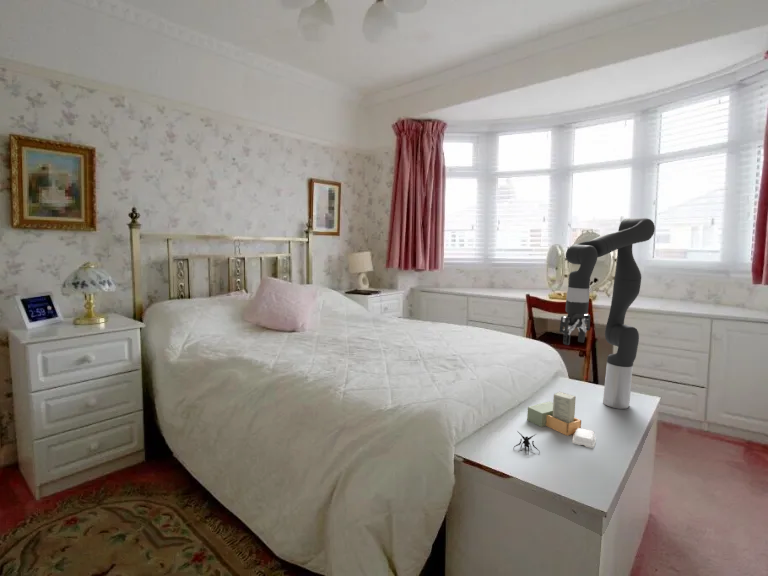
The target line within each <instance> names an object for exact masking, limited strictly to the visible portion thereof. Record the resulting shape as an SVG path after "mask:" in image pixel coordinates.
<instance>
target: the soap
mask: <svg viewBox="0 0 768 576" xmlns="http://www.w3.org/2000/svg"><path fill="white" fill-rule="evenodd" d="M572 435H573V436H572V444H575V445H578V446H581V445H582V446H585V447H586V448H591V449H594V448H595V446H596V441H597V439H596V435H595V431H593V430H591V429H585V428H582V427H581V428H577V429H576V431H575V433H574V434H572Z"/></svg>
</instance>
